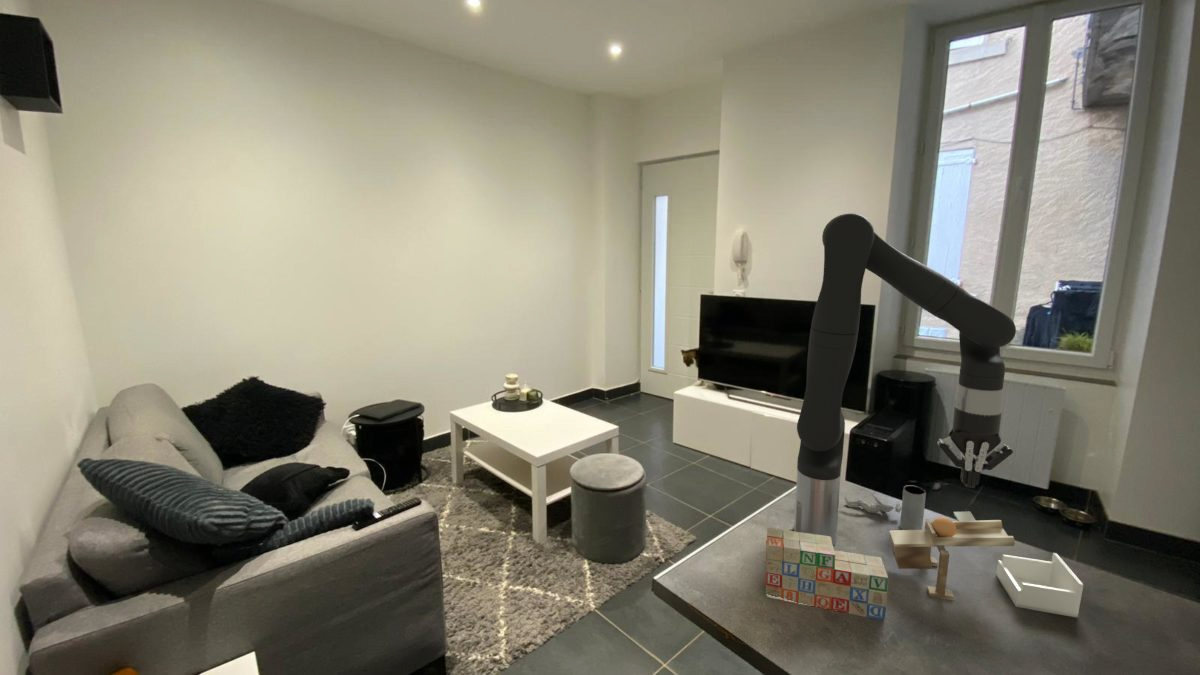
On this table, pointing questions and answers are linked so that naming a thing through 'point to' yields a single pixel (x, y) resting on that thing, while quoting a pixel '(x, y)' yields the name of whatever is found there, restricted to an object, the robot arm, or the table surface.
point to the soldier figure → (873, 505)
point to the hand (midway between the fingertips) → (969, 485)
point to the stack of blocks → (824, 574)
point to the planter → (912, 508)
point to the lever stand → (940, 576)
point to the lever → (945, 540)
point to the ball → (944, 527)
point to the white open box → (1041, 584)
